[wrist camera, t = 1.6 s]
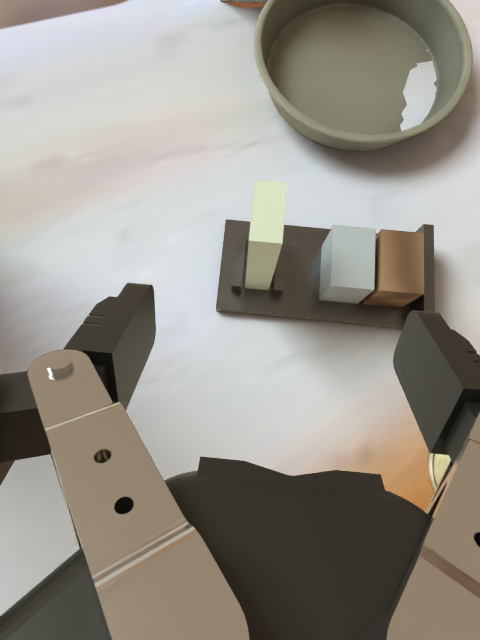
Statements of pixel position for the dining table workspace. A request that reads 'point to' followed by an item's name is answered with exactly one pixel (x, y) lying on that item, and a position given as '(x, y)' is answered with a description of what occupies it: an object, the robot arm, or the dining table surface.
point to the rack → (306, 281)
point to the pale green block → (265, 233)
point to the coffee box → (250, 0)
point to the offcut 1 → (347, 264)
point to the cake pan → (359, 65)
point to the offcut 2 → (397, 268)
